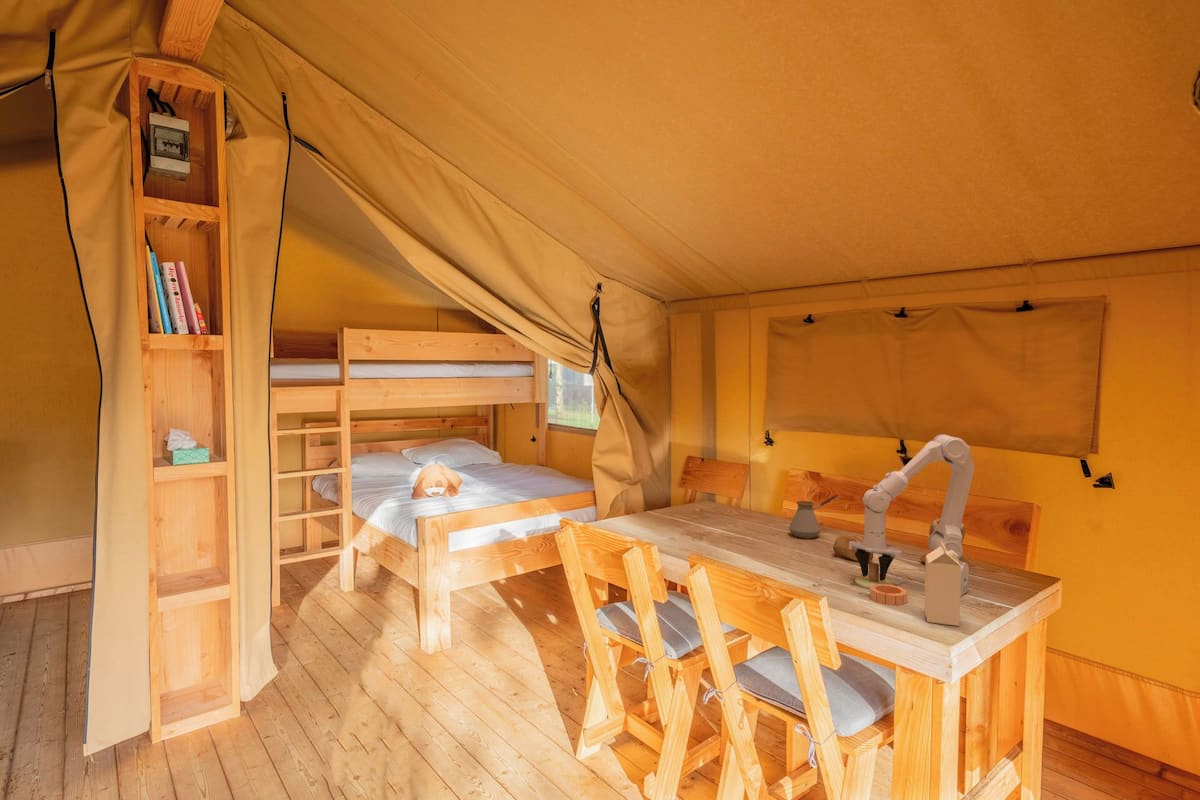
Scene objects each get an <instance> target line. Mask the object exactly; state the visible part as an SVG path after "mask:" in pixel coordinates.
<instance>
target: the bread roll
mask: <svg viewBox="0 0 1200 800" xmlns="http://www.w3.org/2000/svg"><path fill="white" fill-rule="evenodd" d="M851 541H854V542H861V543H864V537H861V536H859V535H856V534H842V535H841V534H840V535H838V536H837V537H836V539H835V541H834V544H833V546H832V550H833V552H834V554H835V555H837V556H841V557H843V558H845V559H846V558H847V559H849V560H852V561H855V562H858V559H857V558H856V556H855V552H856V551H857V550H856V549H849V542H851ZM873 558H874V553H871V552H870V556H869V563H872V561H873Z"/></svg>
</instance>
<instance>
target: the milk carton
mask: <svg viewBox="0 0 1200 800" xmlns="http://www.w3.org/2000/svg"><path fill="white" fill-rule="evenodd" d="M925 555H926V563H925V568H924V569H925V571H924V572H925V576H924V577H925V579H924V606H923V607H924V610H923V611H924V615H925V619H926V622H927V623H933V624H939V625H940V624H941V625H946V626H947V625H948V626H957V627H960V617H961V615H960V613H961V611H960V610H961V609H960V607H961V596H960V583H961V566H960V564H959V562H958V560H957V559H956V558H957V557H958V555H957V554H956V553H955V552H954V551H953V550H950V551H949V552H948V551H947V550H946V548H945V546H944V544H943V543H942V542H941V546H940V547H938V548H937V549H935V550H934V551H932V550H931V552H930V553H928V555H927V554H925Z"/></svg>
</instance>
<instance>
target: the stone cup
mask: <svg viewBox="0 0 1200 800" xmlns="http://www.w3.org/2000/svg"><path fill="white" fill-rule="evenodd" d="M940 519H941V517H939V518H936V519H934V520H933V521H932V522H931V523H930V526H929V533H928V534H929V535H928V536H929V537H930V535H931V534H932V533H933V532H934V529H935V526H936V525H937V524H938V523H939V522H940ZM965 529H966V528H965V525H964V524H963V523H962V522H961V526H960V531H961V534H962V543H963V542H964V539H965V535H966V530H965ZM929 537H928V538H929ZM928 554H929V553H928ZM928 554H923V555H921V556H919V560H920V561H921V562H923V563H925V564H926V555H928ZM965 555H966V554H963V553H962V556H961V557H960V558H959V560H960V561H961V562H964V563H967V564H968V563H970V559H969V558H968V557H967V556H965Z"/></svg>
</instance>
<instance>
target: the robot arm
mask: <svg viewBox="0 0 1200 800" xmlns="http://www.w3.org/2000/svg"><path fill="white" fill-rule="evenodd" d="M944 461H945V462H946V463H947V465H948V466H949V467H950V468H951V475H950V479H949V483H948V487H947V491H946V494H945V499H944V502H943V507H942V512H941V515H940V518H941V519H940V522H939V523H938V524H937V525H936V526H935V529H934V532H933V533H932V534H931V535H930V537H928V540H927V545H928V547H929V549H930V550H931V552H932V551H934V550H935V549H937V548H938V547H940V546H941V542H942V543H943V544H944V546H945V548H946V550H947V551H948V552H949V551H950V550H953V551H954V552H955V553H956V554H957V555H958V557H957V558H956V559H957V560H958V562H959V564H960V566H961V583H960V597H962V596H963V595H964V594H965V593H967V592H969V591H970V589H969V580H970V579H969V577H970V575H969V574H970V572H969V571H970V570H969V569H970V568H969V564H968V563H964V562H961V561H960V560H959V558H960V557H961V556H962V554H963V552H964V549H963V545H962V543H963V542H962V534H961V531H960V526H961V523H962V522H963V518H964V515H965V514H964V513H965V509H966V505H967V501H968V499H969V493H970V489H971V485H972V480H973V477H974V472H975V469H976V468H975V464H974V460H973V457H972V455H971V447H970V446H969V445H968V444H967V442H965V440H963V438H960V437H954V436H950V435H948V434H945V433H944V434H938V435H936V436H935V437H934V438H933V439H932V440H930V441H929V442H927V443H926V444H925V446H923V448H922V449H921V450H920V451H918V453H917V454H916V455H915V456H914V457H913V458H911V460H909V462H907V464H905V465H904V466H903V467H902V468H901V469H900V470H898V471H896V470H894V471H891V472H886V474H884V476H885V477H884V478H883V479H882V480H880V482H878V484H874V485H873V486H872V488H871V489H868V490H866V492H864V494H863V497H862V498H861V500H862V504H863V505H864V516H863V517H864V523H863V526H864V528H863V531H864V532H863V539H864V543H861V542H854V541H851V542H849V549H856V550H857V551H856V552H855V556H856V558H857V559H858V561H857V562H858V564H859V566H860V570H861V576H864V577H865V576H869V563H870V562H869V556H870V552H871V553H873V554H877V555H880V556H878V564H879V577H880V580H881V581H883V580H885V578H886V576H887V573H888V572H889V571H888V570H889V568H890V565H891V563H892V562H893V560H894V559H897V560H899V559H901V558H902V550H898V549H894V548H892V547H889V546H886V534H887V533H886V532H887V531H886V528H887V527H886V526H887V517H886V515H887V514H886V512H887V511H886V510H888V508H889V506H890V502H891V501H893V500H894V499H896V497H897V496H898V495H900V494H901V493H903V491H904V490H906V489H907V488H908V487H909V480H910V479H911V478H913V477H914V476H915V475H917V474H918V473H919V472H920V471H922V470H924V468H926V466H928V465H929V464H930V463H933V462H944Z"/></svg>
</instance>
